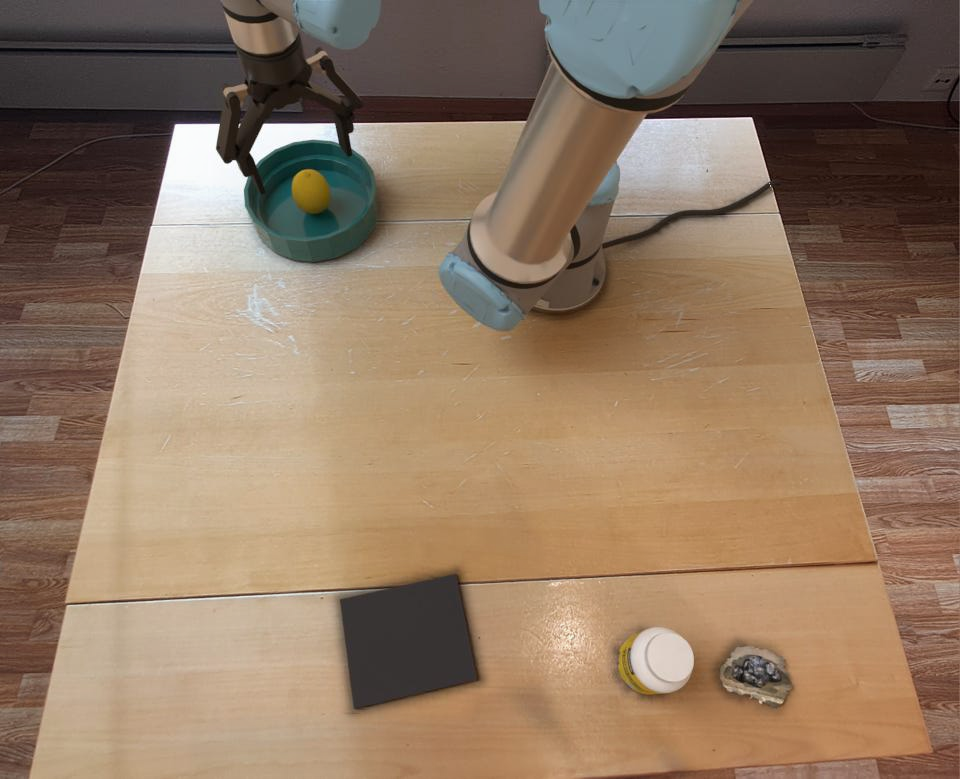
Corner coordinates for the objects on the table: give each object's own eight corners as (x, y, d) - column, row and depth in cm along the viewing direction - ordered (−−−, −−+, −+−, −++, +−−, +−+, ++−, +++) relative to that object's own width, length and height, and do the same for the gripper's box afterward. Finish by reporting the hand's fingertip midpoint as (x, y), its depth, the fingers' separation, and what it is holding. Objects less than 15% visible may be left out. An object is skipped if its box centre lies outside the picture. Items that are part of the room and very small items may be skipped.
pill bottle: (610, 637, 80) (633, 625, 70) (665, 632, 80) (695, 619, 70) (620, 697, 77) (645, 694, 67) (676, 692, 78) (709, 688, 67)
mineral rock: (795, 706, 77) (802, 706, 76) (726, 712, 77) (732, 712, 75) (779, 643, 80) (786, 641, 78) (712, 648, 80) (718, 647, 78)
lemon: (328, 227, 104) (318, 190, 97) (293, 221, 104) (281, 184, 97) (339, 199, 106) (330, 162, 99) (304, 193, 107) (293, 155, 100)
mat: (456, 574, 83) (456, 573, 82) (477, 679, 78) (477, 679, 77) (340, 600, 81) (339, 599, 81) (354, 709, 76) (353, 709, 76)
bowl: (369, 158, 111) (365, 131, 106) (388, 252, 103) (384, 228, 98) (249, 175, 109) (239, 149, 104) (259, 273, 101) (249, 250, 96)
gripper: (348, -18, 83) (368, 119, 102) (149, 53, 77) (210, 185, 96) (378, 18, 80) (392, 152, 100) (174, 95, 74) (232, 222, 93)
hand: (303, 168), depth 98 cm, fingers open, 13 cm apart
